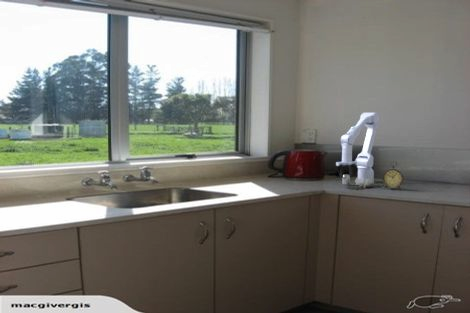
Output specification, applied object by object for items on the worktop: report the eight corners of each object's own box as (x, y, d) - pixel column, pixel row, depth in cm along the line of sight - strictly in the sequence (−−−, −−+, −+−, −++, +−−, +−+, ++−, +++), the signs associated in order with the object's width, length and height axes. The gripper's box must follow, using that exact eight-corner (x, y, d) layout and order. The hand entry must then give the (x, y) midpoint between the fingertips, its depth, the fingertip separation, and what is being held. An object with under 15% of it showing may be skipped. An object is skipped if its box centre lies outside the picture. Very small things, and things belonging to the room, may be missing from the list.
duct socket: (365, 185, 247) (365, 176, 247) (376, 187, 239) (376, 178, 239) (342, 187, 239) (342, 178, 239) (353, 189, 231) (353, 180, 231)
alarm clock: (381, 189, 235) (383, 160, 234) (383, 187, 240) (384, 159, 238) (402, 190, 230) (403, 161, 228) (403, 189, 235) (404, 161, 233)
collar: (346, 184, 252) (346, 174, 251) (351, 185, 248) (351, 175, 248) (340, 184, 250) (341, 174, 249) (345, 185, 246) (346, 175, 246)
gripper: (342, 155, 240) (341, 178, 242) (360, 154, 247) (360, 177, 248) (334, 154, 247) (333, 177, 248) (352, 153, 253) (351, 175, 255)
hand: (346, 177), depth 249 cm, fingers open, 7 cm apart
